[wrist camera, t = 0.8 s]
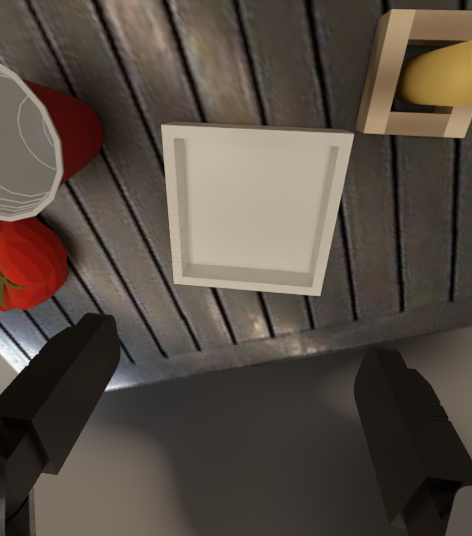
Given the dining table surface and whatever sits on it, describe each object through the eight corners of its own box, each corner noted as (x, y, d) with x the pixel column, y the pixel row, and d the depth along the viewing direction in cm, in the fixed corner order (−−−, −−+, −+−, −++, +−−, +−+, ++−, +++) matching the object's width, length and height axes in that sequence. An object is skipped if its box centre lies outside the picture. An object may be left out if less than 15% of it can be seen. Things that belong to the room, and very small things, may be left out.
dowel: (399, 54, 25) (448, 38, 18) (443, 55, 24) (511, 39, 18) (387, 103, 26) (427, 105, 20) (428, 104, 26) (484, 107, 19)
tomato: (81, 217, 35) (29, 249, 28) (85, 292, 41) (43, 336, 33) (-9, 195, 35) (-85, 222, 27) (8, 273, 40) (-53, 314, 33)
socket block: (378, 18, 24) (391, 9, 21) (485, 20, 23) (512, 11, 21) (355, 129, 28) (363, 133, 25) (445, 134, 27) (464, 137, 25)
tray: (174, 121, 29) (161, 124, 25) (344, 129, 28) (354, 134, 24) (183, 266, 37) (174, 283, 33) (315, 276, 36) (320, 296, 32)
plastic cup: (151, 125, 29) (85, 141, 19) (97, 202, 34) (20, 249, 24) (51, 32, 26) (-91, -10, 16) (7, 130, 31) (-126, 146, 21)
